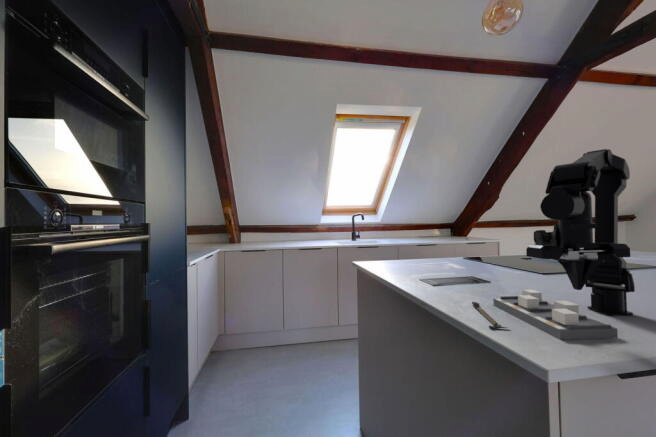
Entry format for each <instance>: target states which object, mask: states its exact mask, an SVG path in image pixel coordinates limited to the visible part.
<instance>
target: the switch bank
mask: <svg viewBox="0 0 656 437" xmlns="http://www.w3.org/2000/svg"><path fill="white" fill-rule="evenodd" d="M492 300H493V306H494V307H497V308H498V309H500V310H502V311H504V312H505V313H508V314H509V315H511V316H514V317H515V318H517V319H520V320H522V321H523V322H525V323H527V324H528V325H531V326H533V327H534V328H537V329H538V330H540V331H543V332H544V333H546V334H548V335H551V337H552V336H553V337H555V338H556V339H558V340H560V341H562V340H563V341H564V340H597V339H601V340H602V339H603V340H604V339H618V337H619V336H618V332H619V331H618V328H617V327H614V326H612V324H607V323H603V322H600V321H598V320H596V319H592V318H590V317H587V315H584V314H583V315H582V314H580V313H579V315H578V317H579V325H564V324H561V323H559V322H557V321H555V320H552V309H554V303H553V304H552V303H550V302H549V301H546V300H542V301H539V308H525V307H523V306H521V305H518V295H515V296H514V295H510V296H509V295H508V296H507V295H506V296H501V295H500V298H495V297H494V298H493V299H492Z"/></svg>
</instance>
